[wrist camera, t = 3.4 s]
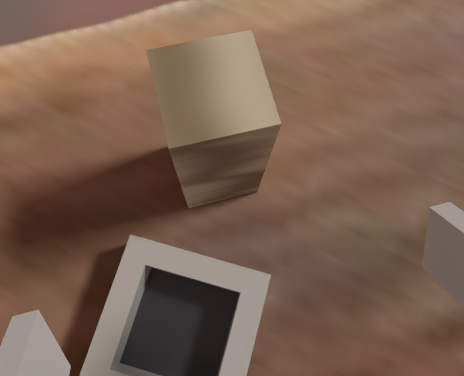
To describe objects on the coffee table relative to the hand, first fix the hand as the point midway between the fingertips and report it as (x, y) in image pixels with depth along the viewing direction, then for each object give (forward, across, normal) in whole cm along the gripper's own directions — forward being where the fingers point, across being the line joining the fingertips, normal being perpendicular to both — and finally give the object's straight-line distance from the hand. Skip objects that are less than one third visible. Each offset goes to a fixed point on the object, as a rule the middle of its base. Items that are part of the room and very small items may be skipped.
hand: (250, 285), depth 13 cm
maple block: (+15, +1, -3) cm, 16 cm away
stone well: (+8, -4, -10) cm, 13 cm away
